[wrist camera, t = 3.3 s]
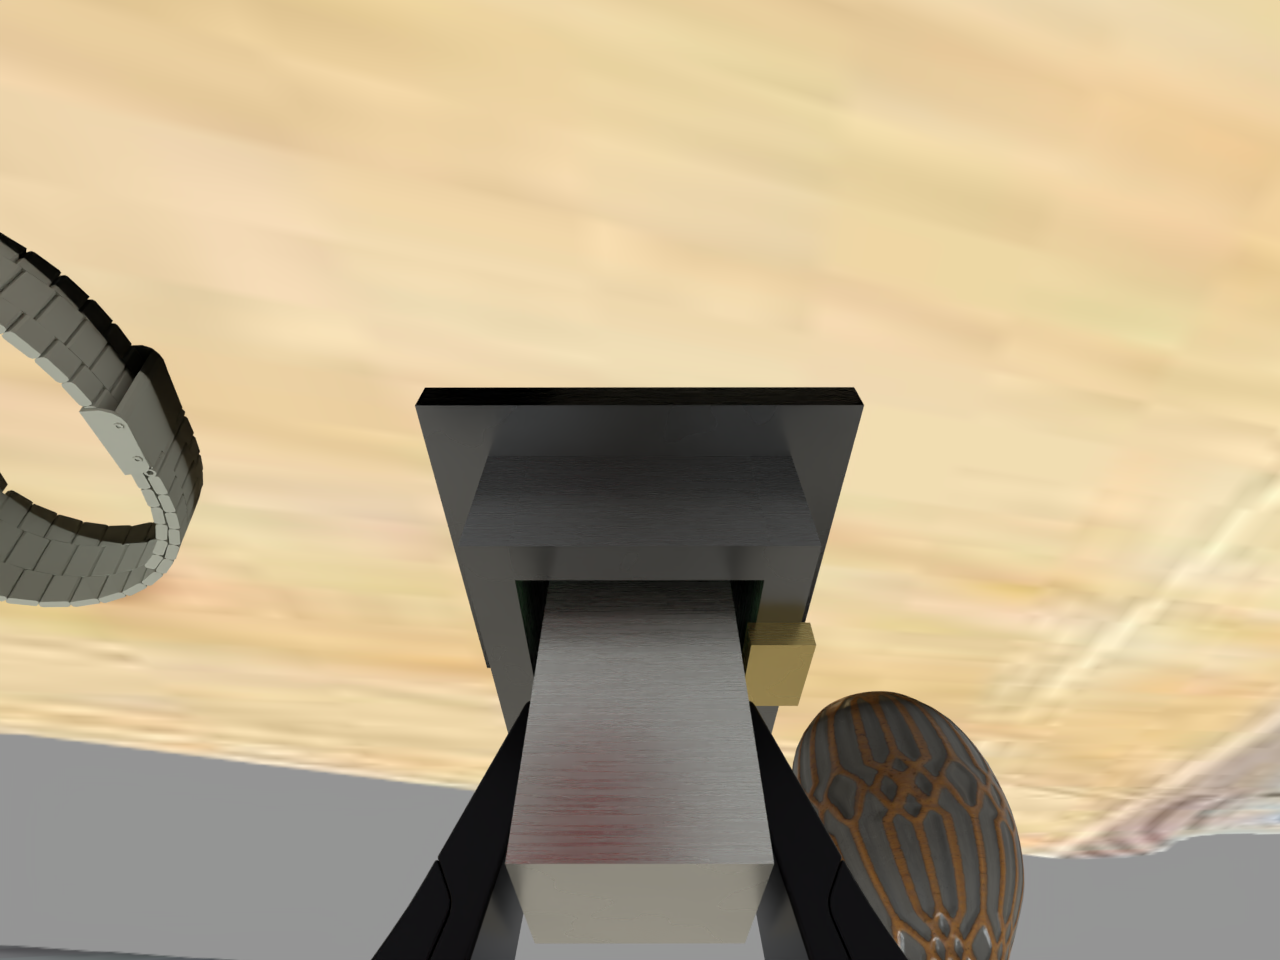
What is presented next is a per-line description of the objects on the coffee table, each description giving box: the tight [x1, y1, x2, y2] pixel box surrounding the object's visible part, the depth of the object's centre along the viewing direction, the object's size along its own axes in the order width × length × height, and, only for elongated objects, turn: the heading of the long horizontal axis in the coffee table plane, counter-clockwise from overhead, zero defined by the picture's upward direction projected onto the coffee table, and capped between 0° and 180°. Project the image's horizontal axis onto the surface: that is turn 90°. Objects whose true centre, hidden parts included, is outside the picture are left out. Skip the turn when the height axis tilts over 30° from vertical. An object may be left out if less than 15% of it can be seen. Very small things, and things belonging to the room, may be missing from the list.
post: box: [505, 580, 774, 944], centre depth 13 cm, size 4×4×8 cm
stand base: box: [415, 387, 864, 734], centre depth 15 cm, size 10×10×4 cm
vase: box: [792, 691, 1024, 960], centre depth 20 cm, size 7×7×9 cm
